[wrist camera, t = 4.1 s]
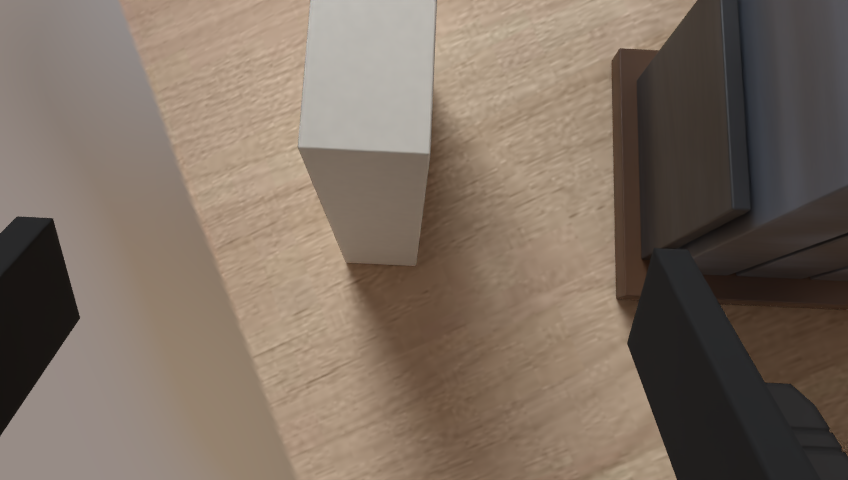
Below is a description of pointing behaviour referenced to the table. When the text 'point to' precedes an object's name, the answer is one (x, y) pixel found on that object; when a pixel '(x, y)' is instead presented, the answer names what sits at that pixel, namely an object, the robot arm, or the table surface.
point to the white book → (370, 122)
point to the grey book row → (738, 152)
